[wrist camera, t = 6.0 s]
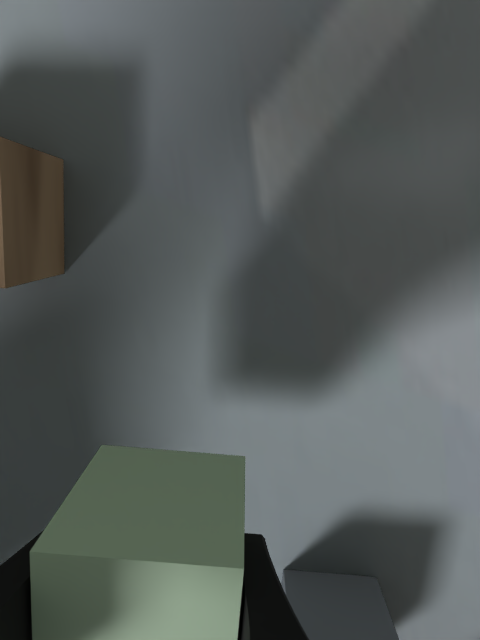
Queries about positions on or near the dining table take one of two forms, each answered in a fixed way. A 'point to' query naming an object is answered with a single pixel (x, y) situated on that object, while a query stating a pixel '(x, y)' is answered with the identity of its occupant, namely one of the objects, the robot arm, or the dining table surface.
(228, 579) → the sage green block
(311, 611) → the gray block
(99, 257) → the dining table surface
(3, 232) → the walnut block
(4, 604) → the robot arm
